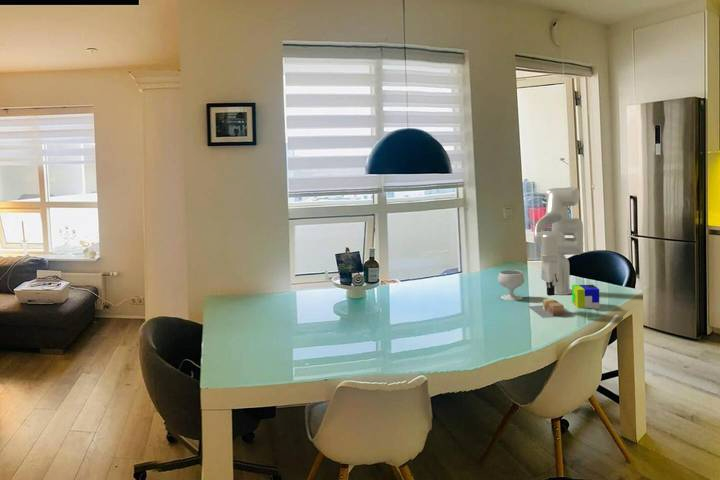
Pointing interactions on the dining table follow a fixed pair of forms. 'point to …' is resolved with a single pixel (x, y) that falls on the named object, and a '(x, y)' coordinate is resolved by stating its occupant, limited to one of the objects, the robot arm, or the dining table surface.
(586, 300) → the puzzle toy
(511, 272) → the chalice
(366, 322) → the dining table surface
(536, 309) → the rubber mat
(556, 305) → the walnut block
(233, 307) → the dining table surface
